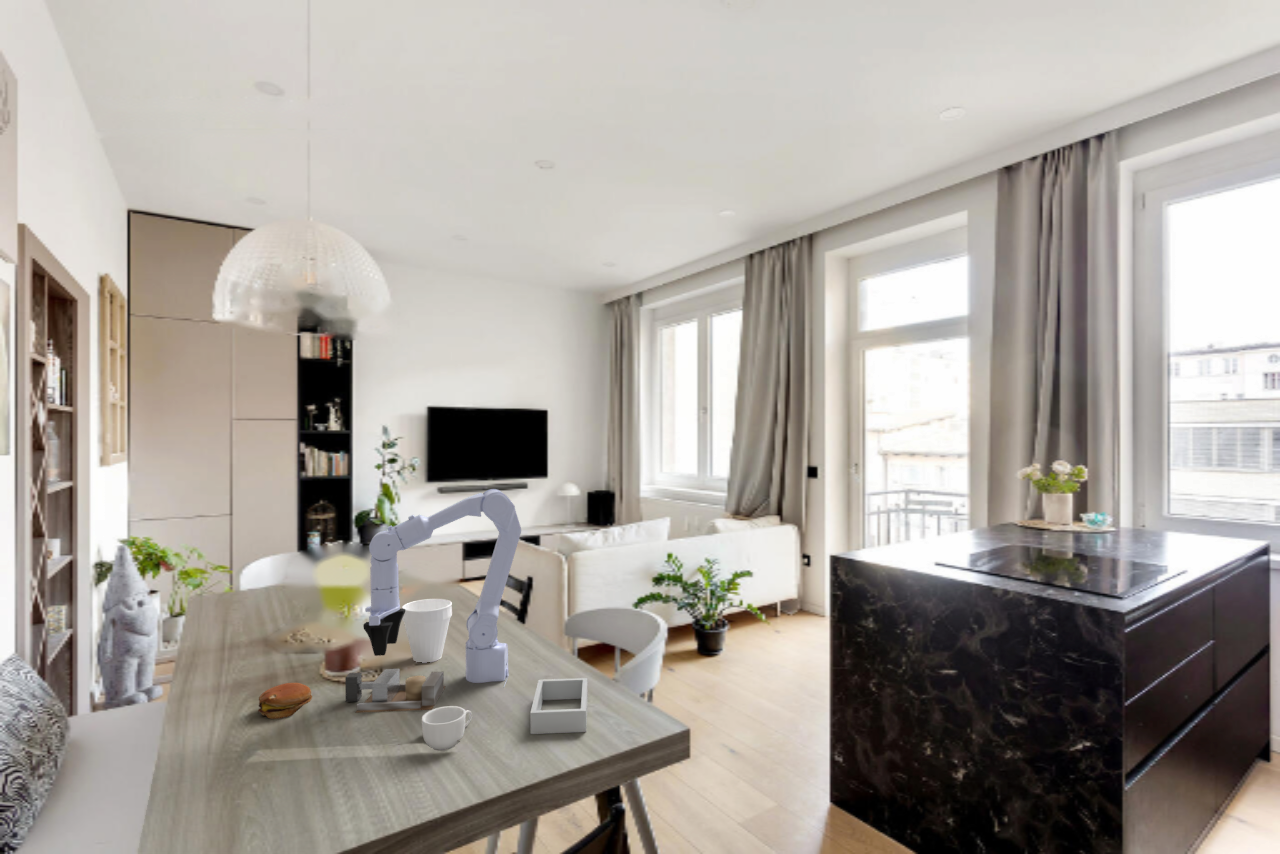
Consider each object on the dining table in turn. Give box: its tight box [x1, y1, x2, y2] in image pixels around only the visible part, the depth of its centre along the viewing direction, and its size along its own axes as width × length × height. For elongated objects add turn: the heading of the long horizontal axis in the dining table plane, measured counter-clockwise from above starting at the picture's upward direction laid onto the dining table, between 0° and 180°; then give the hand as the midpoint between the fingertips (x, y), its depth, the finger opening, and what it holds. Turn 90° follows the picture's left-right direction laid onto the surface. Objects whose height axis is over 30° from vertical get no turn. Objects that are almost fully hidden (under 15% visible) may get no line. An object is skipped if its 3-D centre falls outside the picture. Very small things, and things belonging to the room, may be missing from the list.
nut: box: [404, 675, 427, 701], centre depth 135 cm, size 4×4×4 cm
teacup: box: [421, 705, 473, 751], centre depth 119 cm, size 10×8×5 cm
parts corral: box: [529, 677, 589, 735], centre depth 130 cm, size 10×16×4 cm, turn 4°
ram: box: [344, 668, 401, 703], centre depth 134 cm, size 9×8×5 cm
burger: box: [257, 682, 313, 720], centre depth 134 cm, size 10×9×5 cm
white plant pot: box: [401, 598, 453, 664], centre depth 164 cm, size 12×12×14 cm
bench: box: [355, 670, 447, 714], centre depth 135 cm, size 15×12×6 cm
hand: (385, 649), depth 140 cm, fingers open, 7 cm apart
